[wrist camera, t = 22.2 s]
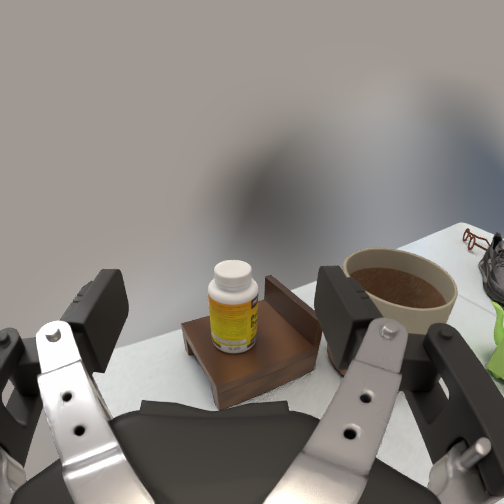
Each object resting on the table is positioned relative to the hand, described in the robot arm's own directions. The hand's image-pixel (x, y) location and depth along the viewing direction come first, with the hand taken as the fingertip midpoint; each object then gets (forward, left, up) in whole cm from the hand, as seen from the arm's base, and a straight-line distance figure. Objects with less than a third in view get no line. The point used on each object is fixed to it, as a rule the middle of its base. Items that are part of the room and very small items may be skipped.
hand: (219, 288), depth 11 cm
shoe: (+74, -1, -24) cm, 78 cm away
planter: (+27, +7, -24) cm, 36 cm away
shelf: (+10, +16, -24) cm, 30 cm away
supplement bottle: (+8, +15, -19) cm, 26 cm away
